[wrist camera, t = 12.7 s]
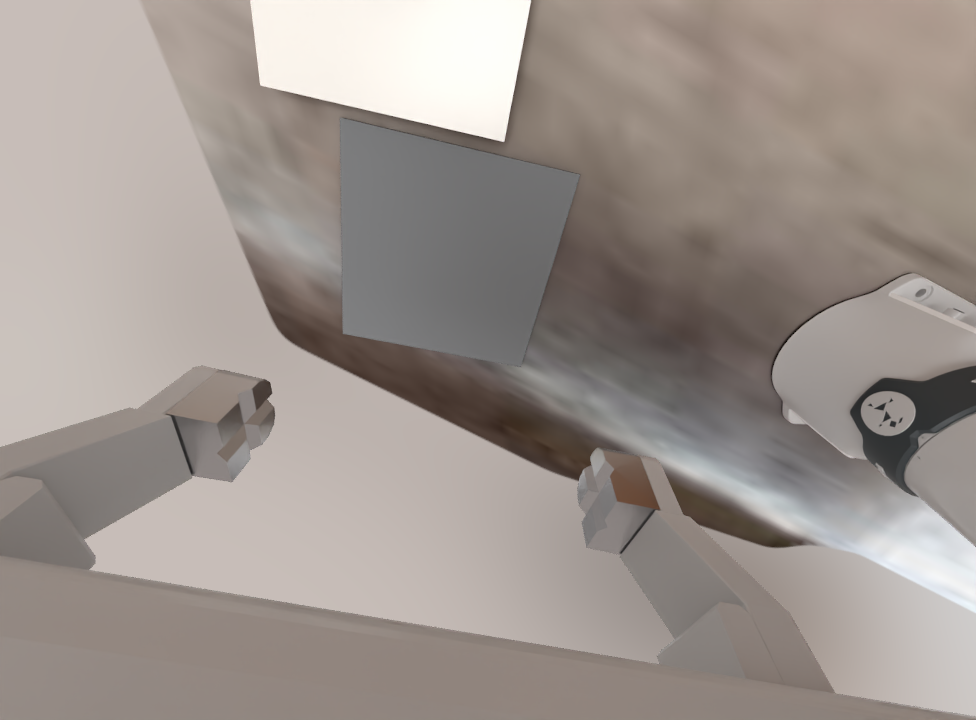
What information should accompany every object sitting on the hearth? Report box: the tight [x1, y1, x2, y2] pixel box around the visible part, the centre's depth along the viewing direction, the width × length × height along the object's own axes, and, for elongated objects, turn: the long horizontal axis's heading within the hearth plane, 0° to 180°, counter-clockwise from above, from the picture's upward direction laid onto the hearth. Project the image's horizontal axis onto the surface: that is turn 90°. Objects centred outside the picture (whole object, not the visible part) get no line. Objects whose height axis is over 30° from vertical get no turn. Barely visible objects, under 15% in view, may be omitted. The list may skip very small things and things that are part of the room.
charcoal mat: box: [340, 118, 580, 367], centre depth 35 cm, size 20×20×1 cm
